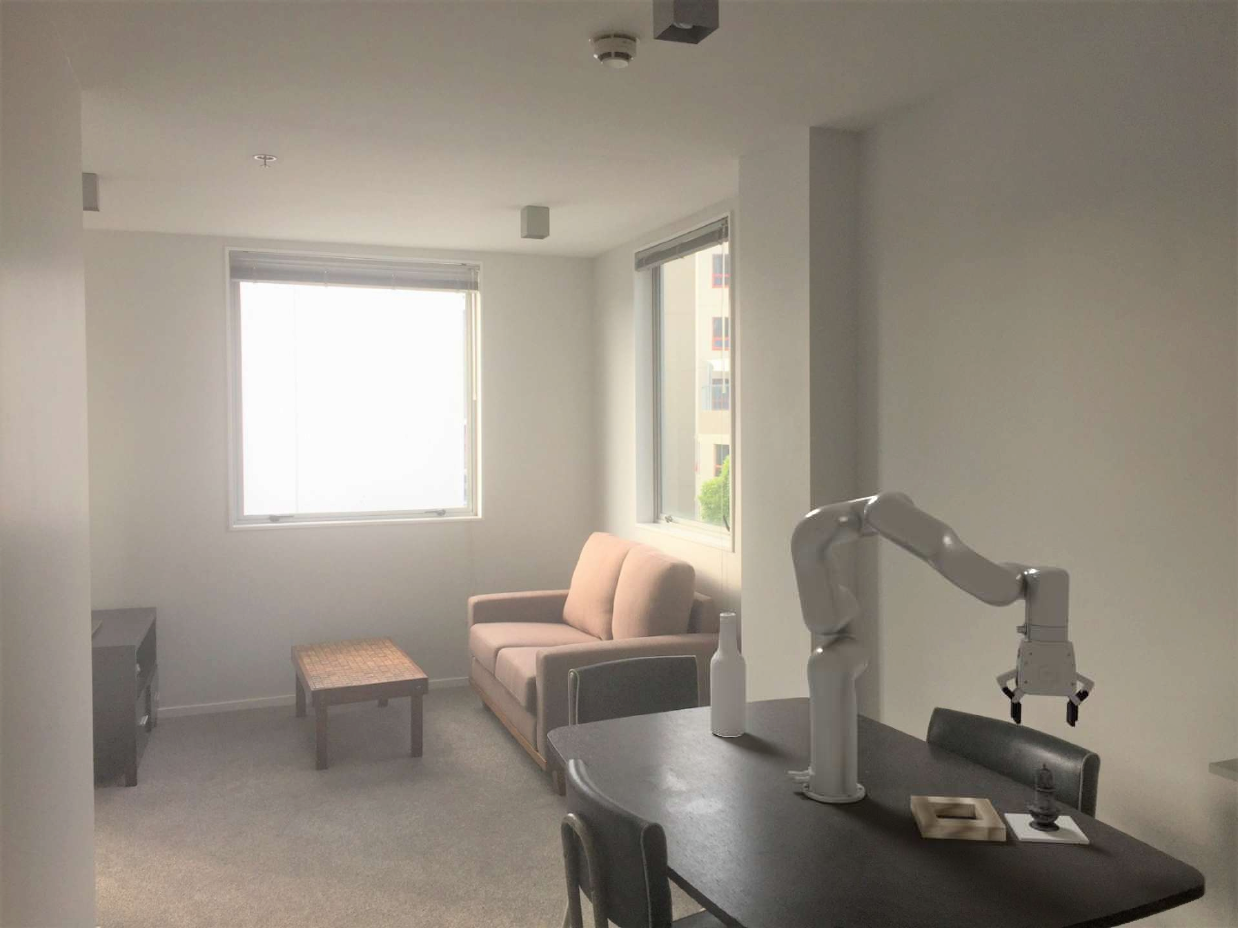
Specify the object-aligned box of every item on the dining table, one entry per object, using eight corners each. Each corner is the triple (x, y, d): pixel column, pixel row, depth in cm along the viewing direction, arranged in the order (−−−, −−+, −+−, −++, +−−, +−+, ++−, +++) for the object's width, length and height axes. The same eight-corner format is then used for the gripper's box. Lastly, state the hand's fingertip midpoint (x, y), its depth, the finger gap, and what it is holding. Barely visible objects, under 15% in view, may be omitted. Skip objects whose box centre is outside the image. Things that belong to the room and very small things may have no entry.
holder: (922, 837, 188) (922, 823, 188) (910, 807, 202) (910, 795, 202) (1005, 841, 186) (1006, 827, 186) (987, 811, 200) (987, 798, 200)
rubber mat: (1020, 840, 186) (1020, 837, 186) (1004, 816, 198) (1004, 813, 197) (1089, 843, 184) (1089, 840, 184) (1069, 818, 196) (1069, 815, 196)
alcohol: (751, 731, 255) (751, 612, 254) (737, 740, 247) (736, 618, 247) (719, 726, 260) (719, 609, 259) (704, 734, 252) (704, 615, 251)
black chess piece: (1064, 833, 187) (1064, 769, 187) (1030, 831, 188) (1030, 767, 188) (1057, 821, 193) (1057, 758, 193) (1024, 819, 194) (1024, 757, 194)
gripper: (1002, 635, 187) (1000, 727, 188) (1101, 638, 185) (1098, 731, 185) (993, 627, 195) (991, 715, 195) (1088, 630, 192) (1085, 719, 193)
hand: (1043, 723), depth 190 cm, fingers open, 9 cm apart
